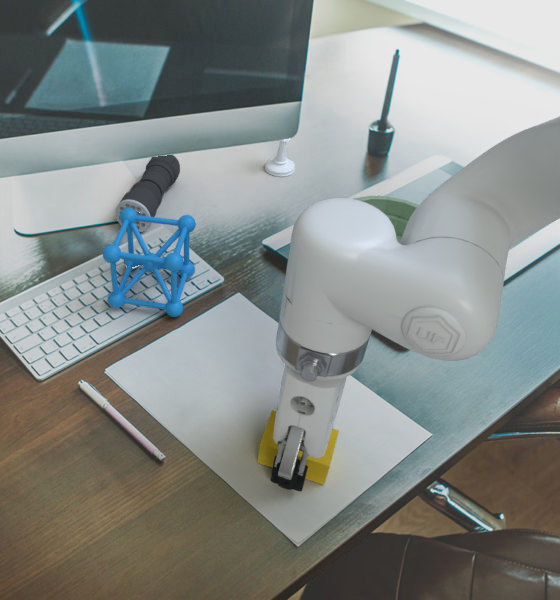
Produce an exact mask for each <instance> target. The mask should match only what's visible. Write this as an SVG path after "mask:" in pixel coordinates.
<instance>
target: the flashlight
mask: <svg viewBox="0 0 560 600" xmlns="http://www.w3.org/2000/svg"><path fill="white" fill-rule="evenodd" d="M180 173H181V165H180V161H179V159H178V158H177V157H176V156H175V155H174V154H172V155H167V156H158V157H153V156H152V157H151V158H150V160H149V161H148V162H147V164H146V166H145V170H144V172H143V173H142V176H141V177H140V179H139V181H138V182H135V183H134V184H133V185H132V187H130V190H129V191H127V192H126V193H125V194H124V195H123V197H122V198H121V200H120V202H119V203H118V204H117V205H116V207H115V210H114V213H115V214H114V215H115V218H116V220H117V222H118V224H119V225H120V227H121V226H122V224H123V223H122V222H121V220H120V213H121V212H122V210H124V209H125V208H132V209H134V210H135V211H136V213H137V215H141V216H149V217H156V215H157V211H158V209H159V207H160V206H161V204H162V200H163V196H164V194H165V193H166V192H167V191H168V190H169V189H170V187H171V186H173V185H174V184H175V183H176V181H177V180H178V178H179V176H180ZM139 212H140V213H139ZM135 224H136V226H137V228H138V230H139V232H140V233H142V232H145V231H146V230H147V229H148V228H149V227H150V225H151V222H143V221H136V223H135Z"/></svg>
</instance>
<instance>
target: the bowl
mask: <svg viewBox="0 0 560 600" xmlns="http://www.w3.org/2000/svg"><path fill="white" fill-rule="evenodd" d="M353 199H354V200H359V201H362V202H365V203H368V204H370V205H372V206H374V207H376V208H377V209H379V210H380V211H382V212H383V213H384V214H385V215H386V216H387V217H388V218H389V219H390V221H391V223H392V224H393V226H394V229H395V233H396V238H397V241H398V243H400V241H401V238H402V236H403V233H404V230H405V228H406V225H407V223H408V221H409V219H410V217H411V215H412V214H413V212H414V211H415V210H416V208H417V207H418V206H419V204H418V203H415V202H412V201H409V200H407V199H403V198H398V197H393V196H388V195H366V196H360V197H354V198H353Z"/></svg>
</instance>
